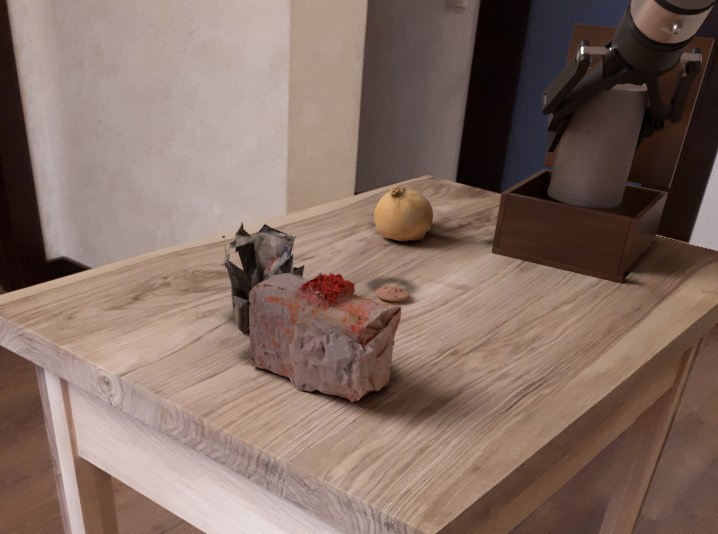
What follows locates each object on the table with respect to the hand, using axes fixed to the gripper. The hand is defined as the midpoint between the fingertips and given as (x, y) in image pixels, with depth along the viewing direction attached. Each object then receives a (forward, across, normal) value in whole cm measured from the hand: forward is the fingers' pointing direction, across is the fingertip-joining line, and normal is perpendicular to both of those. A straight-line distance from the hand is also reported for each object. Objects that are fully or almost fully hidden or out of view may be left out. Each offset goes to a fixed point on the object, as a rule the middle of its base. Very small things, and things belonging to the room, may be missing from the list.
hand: (589, 145), depth 104 cm
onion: (+8, -23, -11) cm, 27 cm away
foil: (-11, -39, -30) cm, 51 cm away
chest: (+7, 0, -11) cm, 13 cm away
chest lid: (+1, +5, +6) cm, 8 cm away
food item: (-22, -33, -41) cm, 57 cm away
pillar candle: (+2, 0, -6) cm, 7 cm away
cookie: (-7, -26, -26) cm, 37 cm away
